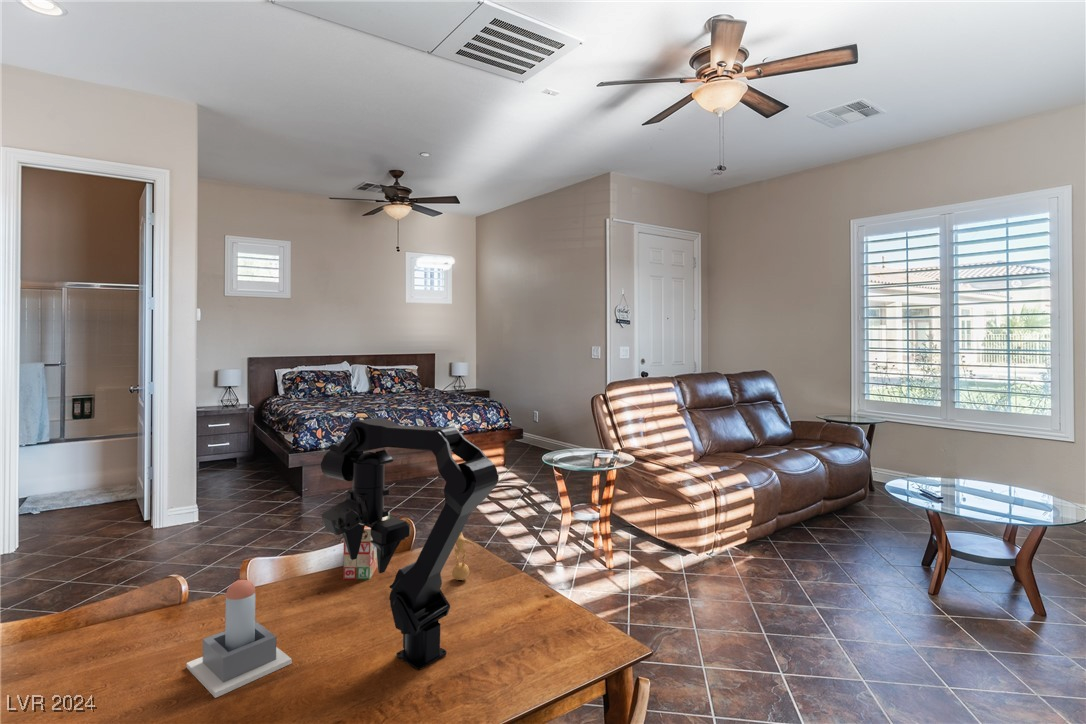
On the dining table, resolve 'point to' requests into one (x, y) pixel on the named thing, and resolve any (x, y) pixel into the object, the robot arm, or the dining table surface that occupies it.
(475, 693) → the dining table surface
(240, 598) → the copper-capped grey cylinder
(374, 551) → the stack of blocks
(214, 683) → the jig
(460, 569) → the figurine
